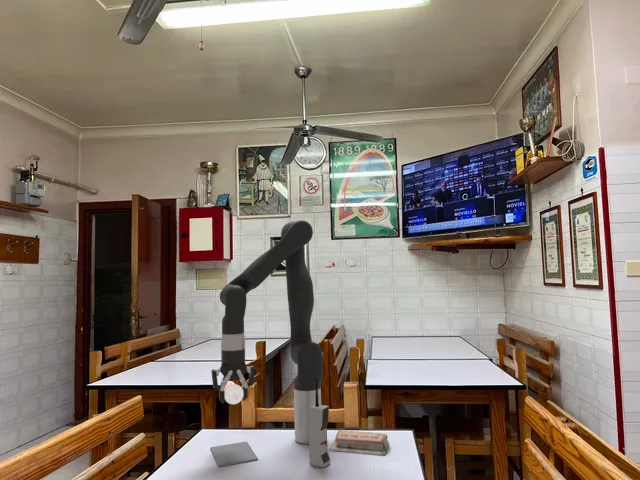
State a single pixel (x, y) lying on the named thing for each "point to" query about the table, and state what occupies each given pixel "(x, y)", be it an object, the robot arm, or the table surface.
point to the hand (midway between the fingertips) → (233, 401)
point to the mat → (233, 454)
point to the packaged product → (360, 442)
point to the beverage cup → (233, 393)
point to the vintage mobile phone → (318, 433)
